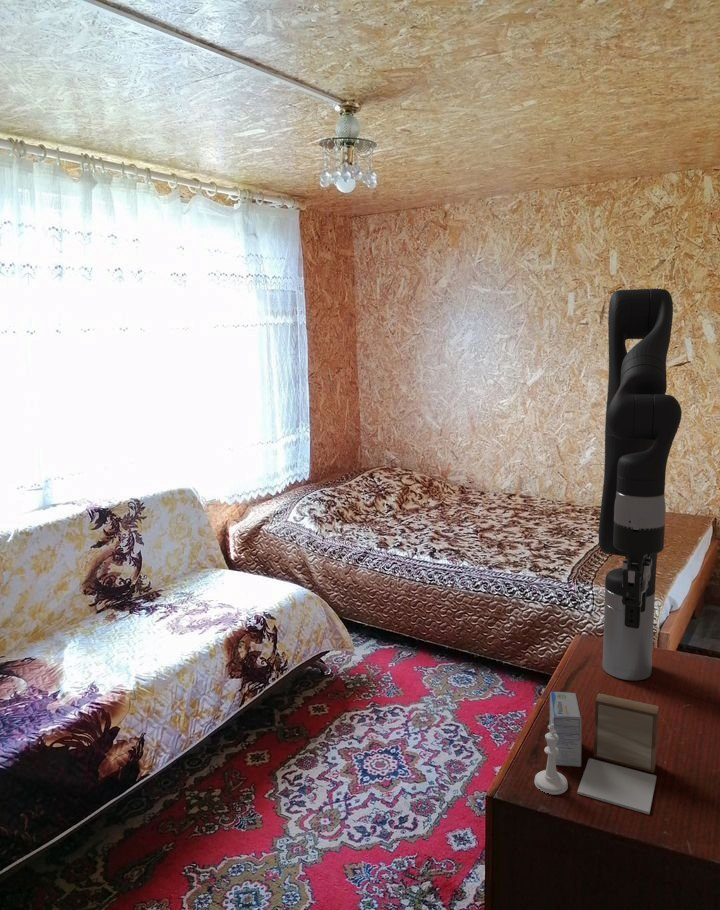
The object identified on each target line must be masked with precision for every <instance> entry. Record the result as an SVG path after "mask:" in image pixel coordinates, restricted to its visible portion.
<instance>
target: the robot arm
mask: <svg viewBox="0 0 720 910" xmlns="http://www.w3.org/2000/svg"><path fill="white" fill-rule="evenodd" d="M607 313H608V315H607V317H608V319H607V320H608V321H607V322H608V324H607V325H608V327H607V329H608V331H607V332H608V384H607V396H606V398H607V399H606V409H605V410H606V411H605V423H604V424H605V425H604V475H603V486H602V495H601V504H600V513H599V514H600V515H599V520H598V521H599V522H598V544H599V549H600V550H601V551H602V552H603V553H604V554H607V555H612V556H618V557H619V556H620V557H625V559H624V560H623V561H622V567H618V568H614V569H612V570H610V571H608V572H607V573H606V575H605V579H604V580H605V581H604V583H605V584H604V608H603V609H604V616H603V617H604V618H603V638H602V639H603V643H602V644H603V646H602V669H603V671H605V673H606V674H608V675H610V676H612V677H614V678H617V679H621V680H625V681H632V682H633V681H643V680H646V679H648V678H650V676H651V675H652V665H653V647H654V645H653V643H654V625H655V624H654V622H655V601H656V600H655V599H656V597H655V596H656V579H657V578H656V577H657V560H658V554H659V553H661V552H662V551H663V550H664V548H665V534H666V533H665V528H666V499H665V497H666V495H665V493H666V491H665V490H666V475H667V473H666V471H667V463H668V458H669V455H670V451H671V448H672V445H673V444H674V440H675V438H676V435H677V432H678V430H679V427H680V423H681V420H682V415H683V413H682V407H681V404H680V402H679V401H678V400H677V398H676V397H675V396H673V395H670V394H667V388H668V382H667V380H668V379H667V356H668V352H669V348H670V342H671V335H672V327H673V318H674V302H673V297H672V295H671V292H670V291H669V290H668V289H666V288H665V289H663V288H638V289H637V288H636V289H633V288H631V289H620V290H615V291H614V292H612V294H611V296H610V299H609V305H608V312H607ZM627 340H640V341H639V342H637V343H636V344H635V345H634V346H633V347H632V348H631V349H629V351H628V350H627V347H626V345H627V344H626V341H627Z"/></svg>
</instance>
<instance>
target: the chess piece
mask: <svg viewBox="0 0 720 910" xmlns="http://www.w3.org/2000/svg"><path fill="white" fill-rule="evenodd" d="M547 729H548V730H550V731H549V732H547V733H546V734H545V735H544V738H545V741H546V744H547V746H545V747H544V752H545V754H547V762H546V768H545V769H543V770H541V771H539V772H538V773H536V774H535V776H534V785H535V787H536V788H537V789H538V790H539V789H540V790H539V791H541V792H542V791H543V792H542V793H544V792H545V794H547V793H549V794H548V795H557V796H558V795H562V794H563V793H565V792H566V791H567V790H568V788H569V784H568V780H567V778H566V776H565V775H563V774H562V773H561V772H558V771H557V765H556V761H555V755H558V754H559V750H558V749H557V748H556V745H557V742H558V740H559V736H558V735H557V731H556V730H555V729H554V724H553V723H552V724H550V723H549V724H548V725H547Z"/></svg>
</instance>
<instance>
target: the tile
mask: <svg viewBox="0 0 720 910" xmlns="http://www.w3.org/2000/svg"><path fill="white" fill-rule="evenodd" d="M594 705H595V707H594V708H595V709H594V711H595V712H594V737H593V738H594V740H593V743H594V744H593V758H596V759H600V760H603V761H605V762H606V761H607V762H610V763H613V764H614V763H615V764H618V765H622V766H624V767H630V768H633V769H636V770H637V769H638V770H640V771H645V772H650V773H655V770H656V764H657V763H656V762H657V744H658V742H657V740H658V723H659V722H658V721H659V705H655V704H650V703H645V702H641V701H636V700H632V699H628V698H627V699H626V698H622V697H618V696H613V695H609V694H605V693H604V694H603V693H598V694H597V696H596V698H595V704H594Z"/></svg>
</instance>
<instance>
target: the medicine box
mask: <svg viewBox="0 0 720 910" xmlns="http://www.w3.org/2000/svg"><path fill="white" fill-rule="evenodd" d="M577 696H578V695H577V693H575V692H566V691H565V692H564V691H550V693H549V725H550V724H552V723H553V724H554V729H555V730H556V731H557V735H558V736H559V740H558V742H557V745H556V748H557V749H558V750H559V754H558V755H555V761H556V766H562V767H577V768H580V767H582V726H583V725H582V723H583V720H582V716H581V715H582V714H581V710H580V705H579V701H578V697H577ZM548 730H549V729H548ZM548 732H550V730H549V731H548Z"/></svg>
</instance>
